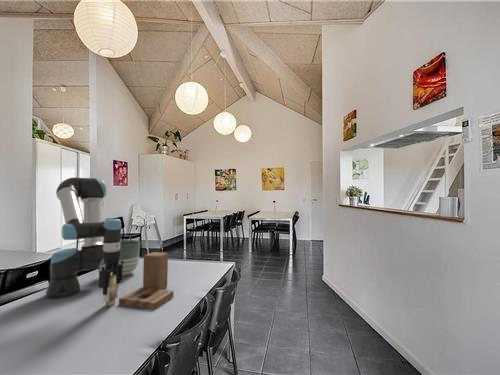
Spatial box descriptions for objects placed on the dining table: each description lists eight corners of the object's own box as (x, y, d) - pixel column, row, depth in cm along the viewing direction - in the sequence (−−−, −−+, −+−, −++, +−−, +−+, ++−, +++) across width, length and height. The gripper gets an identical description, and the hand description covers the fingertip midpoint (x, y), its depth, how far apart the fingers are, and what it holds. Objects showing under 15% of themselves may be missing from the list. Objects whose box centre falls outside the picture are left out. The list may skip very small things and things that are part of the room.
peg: (102, 305, 121) (103, 276, 122) (110, 302, 126) (111, 273, 126) (110, 307, 120) (111, 277, 121) (117, 303, 125) (118, 274, 125)
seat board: (118, 304, 123) (118, 298, 123) (141, 292, 138) (141, 287, 138) (154, 309, 118) (154, 302, 118) (173, 296, 133) (173, 290, 133)
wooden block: (158, 293, 138) (159, 256, 139) (142, 291, 140) (142, 255, 141) (167, 286, 148) (168, 252, 149) (152, 285, 150) (153, 251, 151)
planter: (145, 273, 174) (146, 241, 175) (117, 281, 158) (118, 246, 159) (128, 268, 185) (129, 239, 186) (100, 275, 168) (101, 243, 169)
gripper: (103, 255, 115) (101, 307, 114) (131, 247, 132) (130, 293, 131) (90, 254, 117) (88, 305, 116) (119, 246, 134) (118, 291, 133)
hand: (110, 298), depth 123 cm, fingers closed on peg, 4 cm apart
